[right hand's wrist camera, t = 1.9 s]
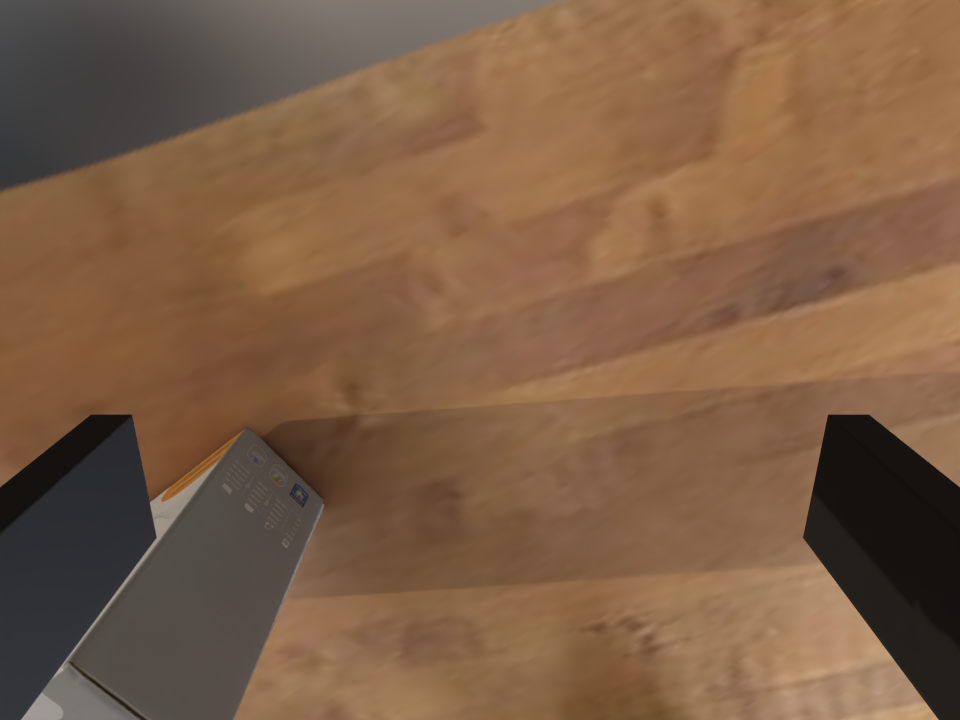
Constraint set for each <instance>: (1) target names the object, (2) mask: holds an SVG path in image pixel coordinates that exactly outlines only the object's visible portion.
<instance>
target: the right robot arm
mask: <svg viewBox="0 0 960 720" xmlns="http://www.w3.org/2000/svg"><path fill="white" fill-rule="evenodd" d="M156 538H157V536H156V531H155V526H154V521H153V516H152V511H151V506H150V501H149V497H148V492H147V487H146V482H145V477H144V472H143V467H142V462H141V457H140V453H139V448H138V443H137V438H136V433H135V428H134V423H133V418H132V415H90V416H89V417H88V418H86V419H85V420H84V421H83V422H81V423H80V424H79V425H78V426H76V427H75V428H74V429H73V430H71V431H70V432H69V433H68V434H66V435H65V436H64V437H63V438H61V439H60V440H59V441H58V442H56V443H55V444H54V445H53V446H51V447H50V448H49V449H48V450H46V451H45V452H44V453H43V454H41V455H40V456H39V457H38V458H36V459H35V460H34V461H33V462H31V463H30V464H29V465H28V466H26V467H25V468H24V469H23V470H21V471H20V472H19V473H18V474H16V475H15V476H14V477H13V478H11V479H10V480H9V481H8V482H6V483H5V484H4V485H3V486H1V487H0V720H21V719H22V718H23V717H24V715H25V714H26V713H27V711H28V710H29V709H30V707H31V706H32V705H33V703H34V702H35V701H36V699H37V698H38V697H39V695H40V694H41V693H42V691H43V690H44V688H45V687H46V686H47V684H48V683H49V682H50V680H51V679H52V678H53V676H54V675H55V674H56V672H57V671H58V670H59V668H60V667H61V666H62V664H63V663H64V662H65V660H66V659H67V658H68V656H69V655H70V654H71V652H72V651H73V650H74V648H75V647H76V646H77V644H78V643H79V641H80V640H81V639H82V637H83V636H84V635H85V633H86V632H87V631H88V629H89V628H90V627H91V625H92V624H93V623H94V621H95V620H96V619H97V617H98V616H99V615H100V613H101V612H102V611H103V609H104V608H105V607H106V605H107V604H108V603H109V601H110V600H111V599H112V597H113V596H114V595H115V593H116V592H117V590H118V589H119V588H120V586H121V585H122V584H123V582H124V581H125V580H126V578H127V577H128V576H129V574H130V573H131V572H132V570H133V569H134V568H135V566H136V565H137V564H138V562H139V561H140V560H141V558H142V557H143V556H144V554H145V553H146V552H147V550H148V549H149V548H150V546H151V545H152V544H153V542H154V541H155V539H156ZM803 538H804V539H805V541H806V542H807V544H808V545H809V546H810V548H811V549H812V550H813V552H814V553H815V554H816V556H817V557H818V558H819V560H820V561H821V562H822V564H823V565H824V566H825V568H826V569H827V570H828V572H829V573H830V574H831V576H832V577H833V578H834V580H835V581H836V582H837V584H838V585H839V586H840V588H841V589H842V590H843V592H844V593H845V595H846V596H847V597H848V599H849V600H850V601H851V603H852V604H853V605H854V607H855V608H856V609H857V611H858V612H859V613H860V615H861V616H862V617H863V619H864V620H865V621H866V623H867V624H868V625H869V627H870V628H871V629H872V631H873V632H874V633H875V635H876V636H877V637H878V639H879V640H880V642H881V643H882V644H883V646H884V647H885V648H886V650H887V651H888V652H889V654H890V655H891V656H892V658H893V659H894V660H895V662H896V663H897V664H898V666H899V667H900V668H901V670H902V671H903V672H904V674H905V675H906V676H907V678H908V679H909V680H910V682H911V683H912V684H913V686H914V687H915V688H916V690H917V691H918V693H919V694H920V695H921V697H922V698H923V699H924V701H925V702H926V703H927V705H928V706H929V707H930V709H931V710H932V711H933V713H934V714H935V715H936V717H937V718H938V719H939V720H960V487H959V486H957V485H956V484H955V483H954V482H952V481H951V480H950V479H949V478H947V477H946V476H945V475H944V474H942V473H941V472H940V471H939V470H937V469H936V468H935V467H934V466H932V465H931V464H930V463H929V462H927V461H926V460H925V459H924V458H922V457H921V456H920V455H919V454H917V453H916V452H915V451H914V450H912V449H911V448H910V447H909V446H907V445H906V444H905V443H904V442H902V441H901V440H900V439H899V438H897V437H896V436H895V435H894V434H892V433H891V432H890V431H889V430H887V429H886V428H885V427H884V426H882V425H881V424H880V423H879V422H877V421H876V420H875V419H874V418H872V417H871V416H870V415H828V418H827V423H826V428H825V433H824V438H823V443H822V448H821V453H820V457H819V462H818V467H817V472H816V477H815V482H814V487H813V492H812V497H811V501H810V506H809V511H808V516H807V521H806V526H805V531H804V536H803Z"/></svg>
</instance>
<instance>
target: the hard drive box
mask: <svg viewBox="0 0 960 720" xmlns="http://www.w3.org/2000/svg"><path fill="white" fill-rule="evenodd" d="M150 506H151V511H152V516H153V521H154V526H155V531H156V536H157V538H156V539H155V541H154V542H153V544H152V545H151V546H150V548H149V549H148V550H147V552H146V553H145V554H144V556H143V557H142V558H141V560H140V561H139V562H138V564H137V565H136V566H135V568H134V569H133V570H132V572H131V573H130V574H129V576H128V577H127V578H126V580H125V581H124V582H123V584H122V585H121V586H120V588H119V589H118V590H117V592H116V593H115V595H114V596H113V597H112V599H111V600H110V601H109V603H108V604H107V605H106V607H105V608H104V609H103V611H102V612H101V613H100V615H99V616H98V617H97V619H96V620H95V621H94V623H93V624H92V625H91V627H90V628H89V629H88V631H87V632H86V633H85V635H84V636H83V637H82V639H81V640H80V641H79V643H78V644H77V646H76V647H75V648H74V650H73V651H72V652H71V654H70V655H69V656H68V658H67V659H66V660H65V662H64V663H63V664H62V666H61V667H60V668H59V670H58V671H57V672H56V674H55V675H54V676H53V678H52V679H51V680H50V682H49V683H48V684H47V686H46V687H45V688H44V690H43V691H42V693H41V694H40V695H39V697H38V698H37V699H36V701H35V702H34V703H33V705H32V706H31V707H30V709H29V710H28V711H27V713H26V714H25V715H24V717H23V718H22V719H21V720H234V717H235V715H236V713H237V710H238V708H239V705H240V703H241V701H242V698H243V696H244V694H245V691H246V689H247V686H248V684H249V682H250V679H251V677H252V675H253V672H254V670H255V667H256V665H257V663H258V660H259V658H260V656H261V653H262V651H263V649H264V646H265V644H266V642H267V639H268V637H269V635H270V632H271V630H272V628H273V625H274V623H275V621H276V618H277V616H278V614H279V611H280V609H281V607H282V604H283V602H284V600H285V597H286V595H287V593H288V590H289V588H290V586H291V583H292V581H293V579H294V576H295V574H296V572H297V569H298V567H299V565H300V562H301V560H302V557H303V555H304V553H305V550H306V548H307V546H308V543H309V541H310V539H311V536H312V534H313V532H314V529H315V527H316V525H317V522H318V520H319V518H320V515H321V513H322V510H323V508H324V504H323V499H322V498H321V497H320V496H319V495H318V494H317V493H316V492H315V491H314V490H313V489H312V488H311V487H310V486H309V485H308V484H307V483H306V482H305V481H304V480H303V479H302V478H301V477H300V476H298V475H297V474H296V473H295V472H294V471H293V470H292V469H291V468H290V467H289V466H288V465H287V464H286V463H285V462H284V461H283V460H282V459H281V458H280V457H279V456H278V455H277V454H276V453H275V452H274V451H273V450H272V449H271V448H270V447H269V446H268V445H267V444H266V443H265V442H264V441H263V440H262V439H261V438H260V437H259V436H258V435H257V434H256V433H255V432H253V431H252V430H251V429H250V428H246V429H244V430H243V431H241V432H240V433H239V434H237V435H236V436H235V437H233V438H232V439H231V440H229V441H228V442H227V443H226V444H224V445H223V446H222V447H221V448H219V449H218V450H217V451H215V452H214V453H213V454H211V455H210V456H209V457H208V458H206V459H205V460H204V461H202V462H201V463H200V464H199V465H197V466H196V467H195V468H194V469H192V470H191V471H190V472H188V473H187V474H186V475H185V476H183V477H182V478H181V479H179V480H178V481H177V482H176V483H174V484H173V485H172V486H171V487H169V488H168V489H167V490H165V491H164V492H163V493H161V494H160V495H159V496H158V497H156V498H155V499H154V500H153V501H151V502H150Z"/></svg>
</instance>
